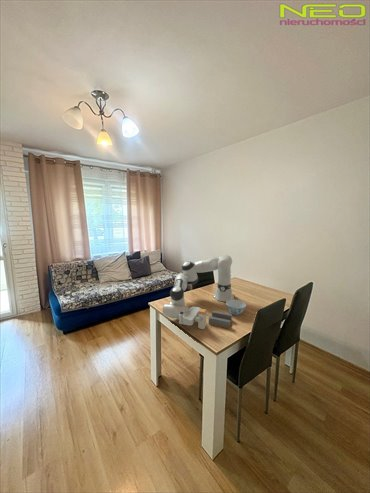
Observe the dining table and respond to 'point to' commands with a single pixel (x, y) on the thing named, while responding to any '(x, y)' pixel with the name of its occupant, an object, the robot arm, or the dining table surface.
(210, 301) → the dining table surface
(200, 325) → the plug post
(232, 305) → the chinaware
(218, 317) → the duct block
